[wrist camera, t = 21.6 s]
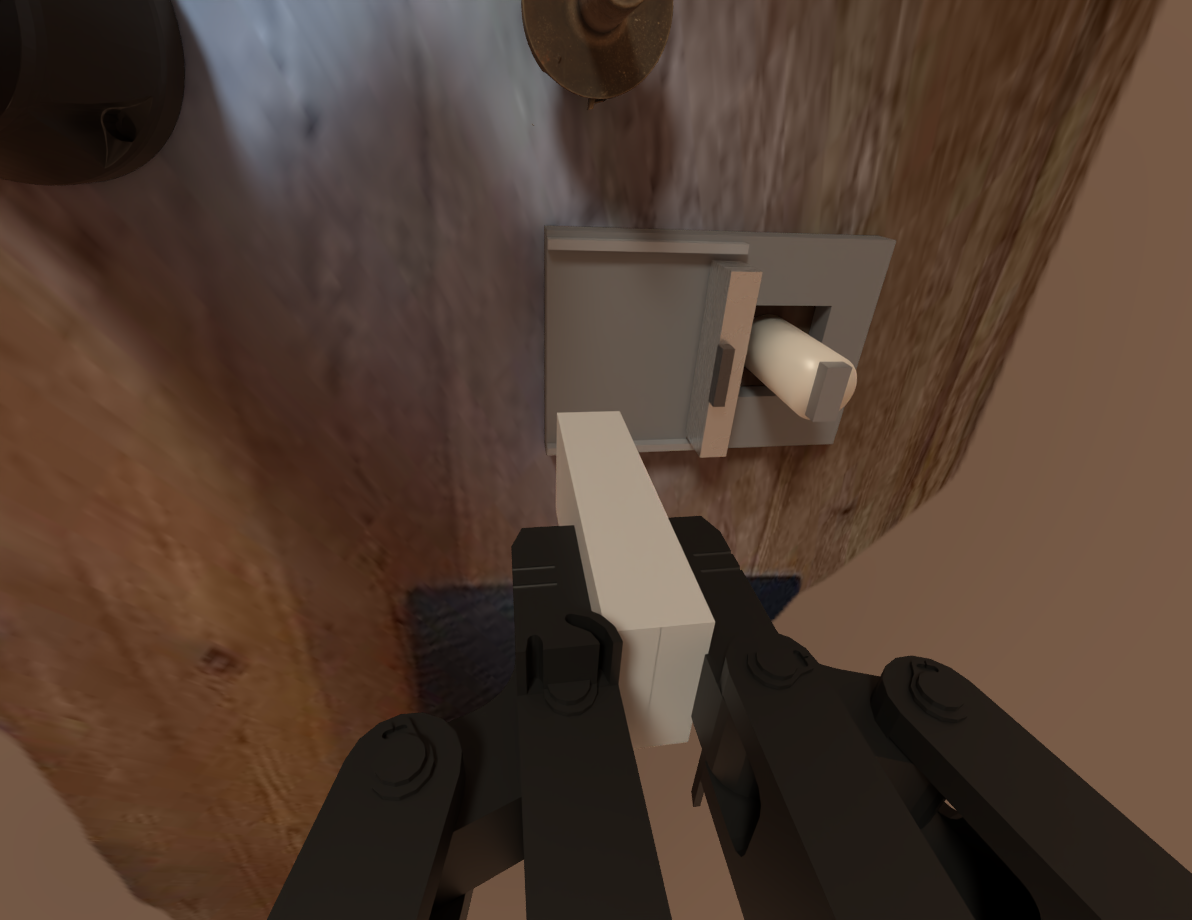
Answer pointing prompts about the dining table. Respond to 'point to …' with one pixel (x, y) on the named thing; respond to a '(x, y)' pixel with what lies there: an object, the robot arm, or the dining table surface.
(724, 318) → the lock bar
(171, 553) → the dining table surface
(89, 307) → the dining table surface
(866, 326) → the housing plate
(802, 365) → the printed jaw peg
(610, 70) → the industrial component
